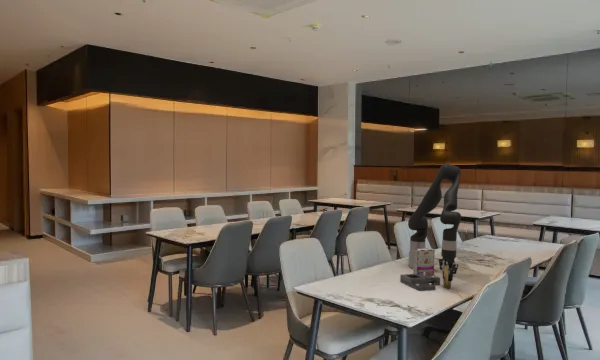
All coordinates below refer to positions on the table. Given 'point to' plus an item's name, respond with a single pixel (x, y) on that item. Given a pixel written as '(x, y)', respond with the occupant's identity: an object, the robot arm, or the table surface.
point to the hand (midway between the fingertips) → (447, 279)
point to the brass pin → (446, 279)
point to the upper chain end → (421, 278)
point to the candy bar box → (424, 261)
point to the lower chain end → (419, 285)
